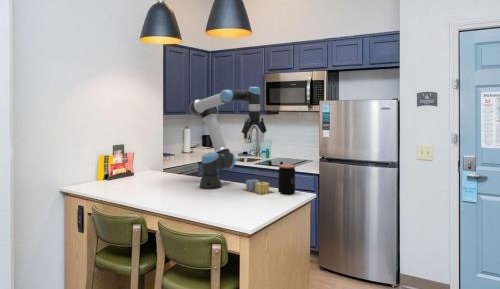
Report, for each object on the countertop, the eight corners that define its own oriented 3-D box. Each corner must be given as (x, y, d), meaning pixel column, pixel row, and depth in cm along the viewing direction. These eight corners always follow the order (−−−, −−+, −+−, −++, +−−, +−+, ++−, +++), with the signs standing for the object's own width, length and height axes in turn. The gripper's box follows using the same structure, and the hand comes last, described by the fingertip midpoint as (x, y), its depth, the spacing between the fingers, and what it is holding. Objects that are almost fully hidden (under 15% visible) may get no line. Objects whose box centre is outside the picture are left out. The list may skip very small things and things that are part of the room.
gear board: (240, 191, 241) (240, 183, 240) (254, 188, 249) (254, 180, 248) (261, 196, 226) (261, 188, 226) (275, 193, 234) (275, 185, 234)
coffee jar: (294, 195, 230) (294, 167, 228) (277, 194, 232) (277, 166, 230) (295, 191, 240) (295, 164, 238) (279, 190, 242) (279, 164, 241)
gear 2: (252, 192, 234) (252, 182, 234) (262, 190, 239) (262, 181, 239) (261, 194, 227) (261, 185, 227) (271, 192, 232) (271, 183, 232)
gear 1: (243, 190, 240) (243, 181, 239) (250, 187, 247) (250, 178, 246) (254, 191, 235) (254, 182, 235) (261, 189, 242) (261, 180, 242)
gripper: (243, 110, 228) (243, 144, 230) (271, 110, 244) (271, 142, 247) (236, 110, 233) (236, 143, 236) (264, 110, 250) (264, 141, 252)
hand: (254, 143), depth 241 cm, fingers open, 13 cm apart
